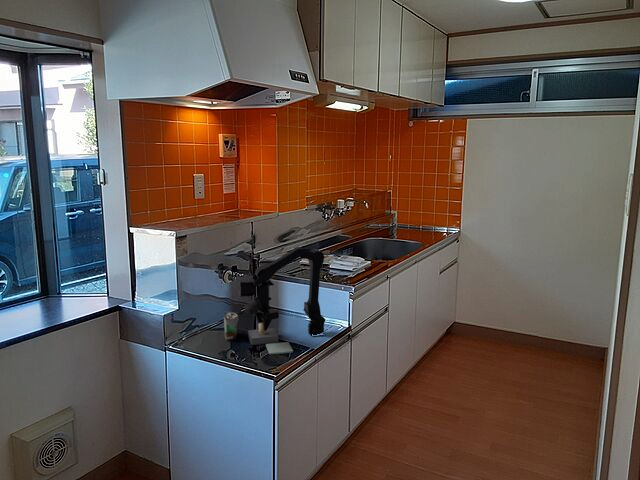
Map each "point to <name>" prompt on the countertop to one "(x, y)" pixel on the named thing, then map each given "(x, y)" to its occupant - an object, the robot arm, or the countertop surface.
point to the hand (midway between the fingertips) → (263, 328)
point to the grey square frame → (263, 337)
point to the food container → (230, 325)
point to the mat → (279, 348)
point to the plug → (262, 329)
